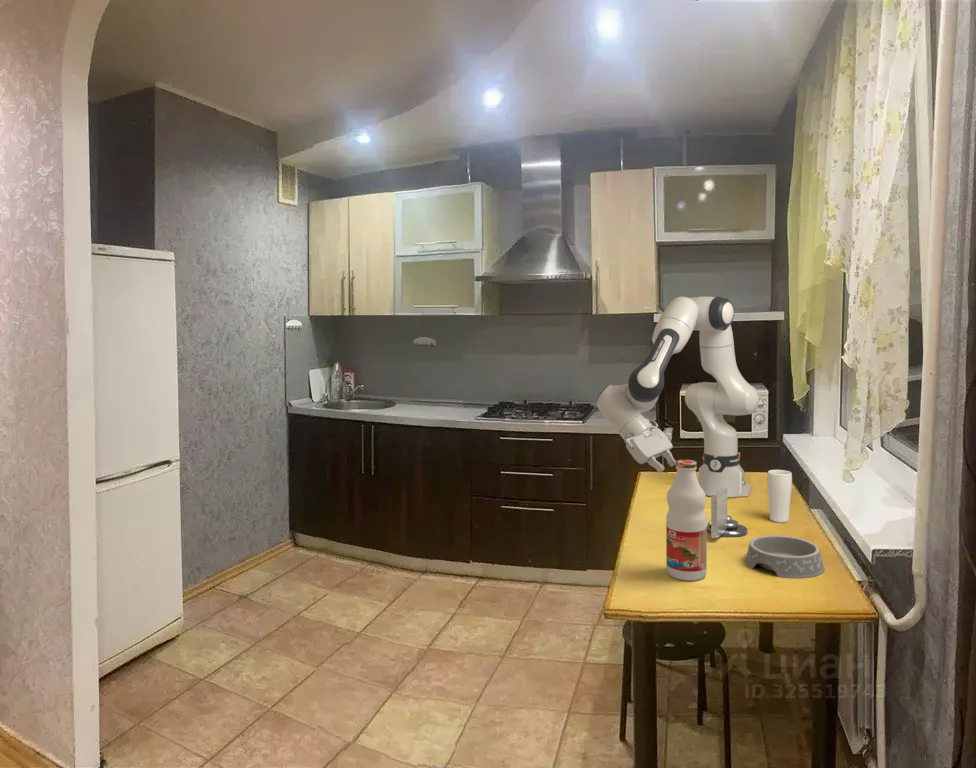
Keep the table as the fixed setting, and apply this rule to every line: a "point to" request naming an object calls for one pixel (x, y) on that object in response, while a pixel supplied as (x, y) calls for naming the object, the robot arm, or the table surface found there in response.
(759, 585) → the table surface
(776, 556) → the dog bowl
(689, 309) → the robot arm
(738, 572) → the table surface
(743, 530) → the base
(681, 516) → the white plastic bottle
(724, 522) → the upright slab
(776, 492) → the drinking glass
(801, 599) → the table surface
